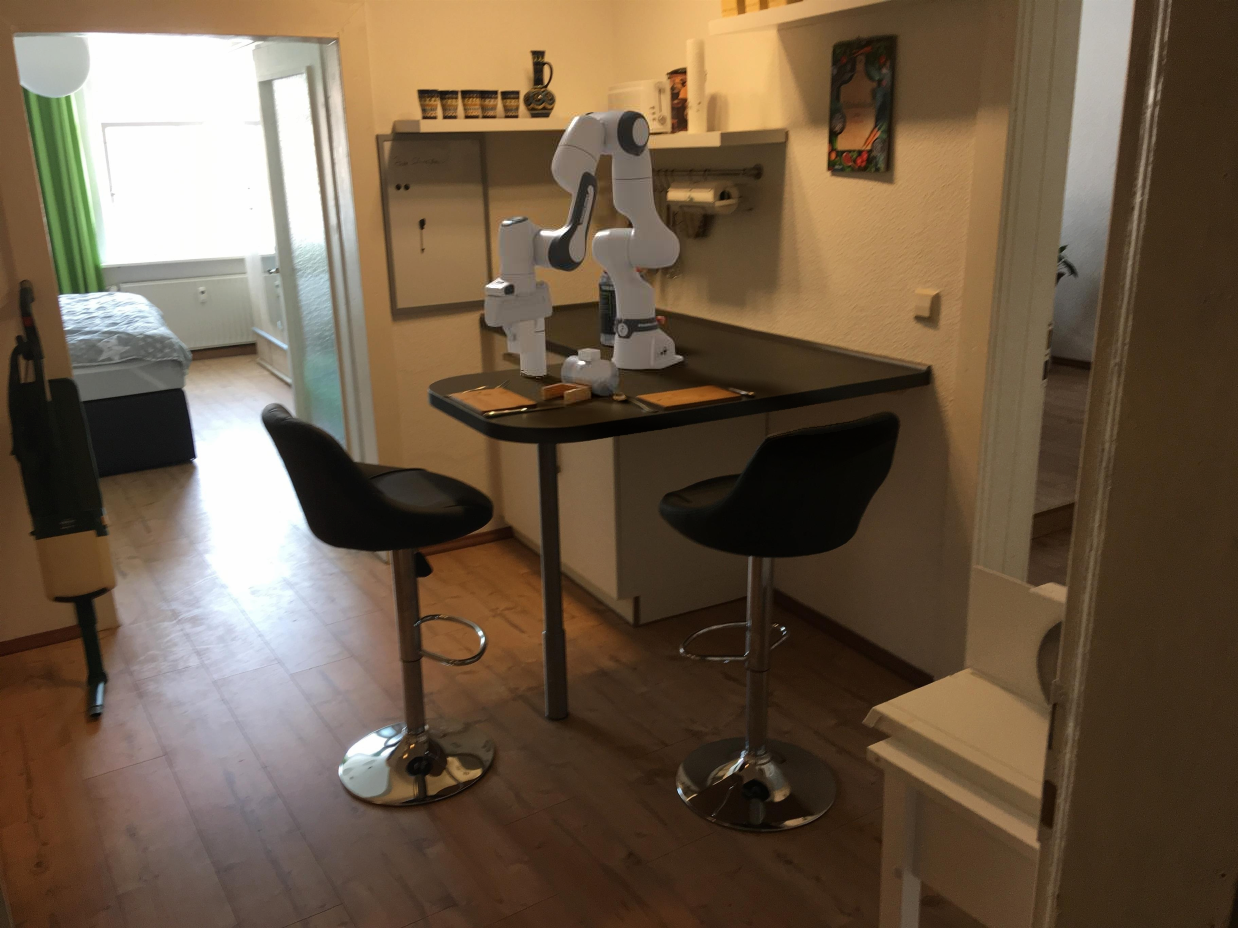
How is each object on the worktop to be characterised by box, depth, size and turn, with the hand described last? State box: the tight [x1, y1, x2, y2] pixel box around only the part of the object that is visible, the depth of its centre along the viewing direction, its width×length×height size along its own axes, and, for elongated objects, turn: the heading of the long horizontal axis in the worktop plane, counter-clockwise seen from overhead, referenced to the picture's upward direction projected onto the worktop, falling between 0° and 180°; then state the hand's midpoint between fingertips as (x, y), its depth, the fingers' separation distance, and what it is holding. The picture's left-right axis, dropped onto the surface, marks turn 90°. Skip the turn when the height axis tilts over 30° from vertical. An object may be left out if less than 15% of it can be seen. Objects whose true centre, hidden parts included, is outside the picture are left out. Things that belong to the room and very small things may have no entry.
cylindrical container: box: [519, 317, 547, 377], centre depth 278 cm, size 7×7×25 cm
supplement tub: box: [598, 267, 648, 347], centre depth 324 cm, size 16×16×26 cm
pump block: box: [506, 320, 536, 355], centre depth 253 cm, size 5×5×8 cm
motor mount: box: [541, 347, 620, 405], centre depth 254 cm, size 18×12×11 cm
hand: (521, 339), depth 254 cm, fingers closed on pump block, 5 cm apart
